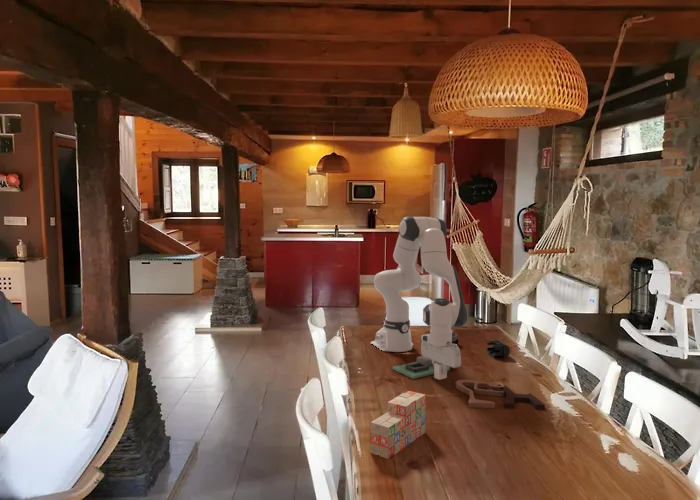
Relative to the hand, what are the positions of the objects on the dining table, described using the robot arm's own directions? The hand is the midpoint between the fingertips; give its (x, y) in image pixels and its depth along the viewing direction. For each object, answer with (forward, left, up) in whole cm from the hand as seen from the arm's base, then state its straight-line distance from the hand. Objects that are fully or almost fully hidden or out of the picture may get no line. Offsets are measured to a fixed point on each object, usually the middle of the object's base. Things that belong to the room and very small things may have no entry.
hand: (440, 372), depth 209 cm
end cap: (-8, +43, -2) cm, 44 cm away
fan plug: (0, 0, -2) cm, 2 cm away
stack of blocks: (+36, -49, -2) cm, 61 cm away
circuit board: (-12, 0, -2) cm, 12 cm away
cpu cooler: (-36, +37, -2) cm, 51 cm away
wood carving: (+26, +4, -3) cm, 27 cm away
